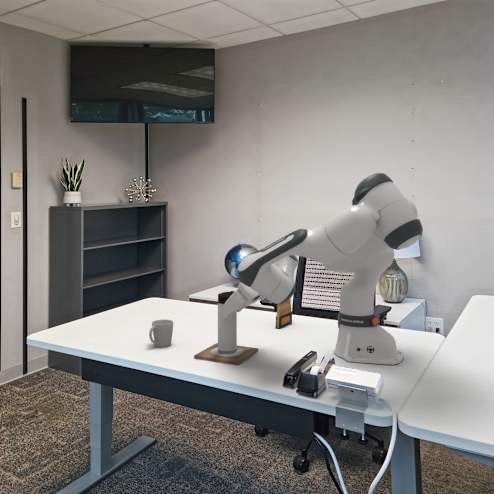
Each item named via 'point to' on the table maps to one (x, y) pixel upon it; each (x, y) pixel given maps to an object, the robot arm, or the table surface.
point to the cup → (161, 333)
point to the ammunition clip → (284, 314)
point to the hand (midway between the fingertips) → (230, 313)
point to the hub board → (226, 355)
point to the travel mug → (226, 327)
